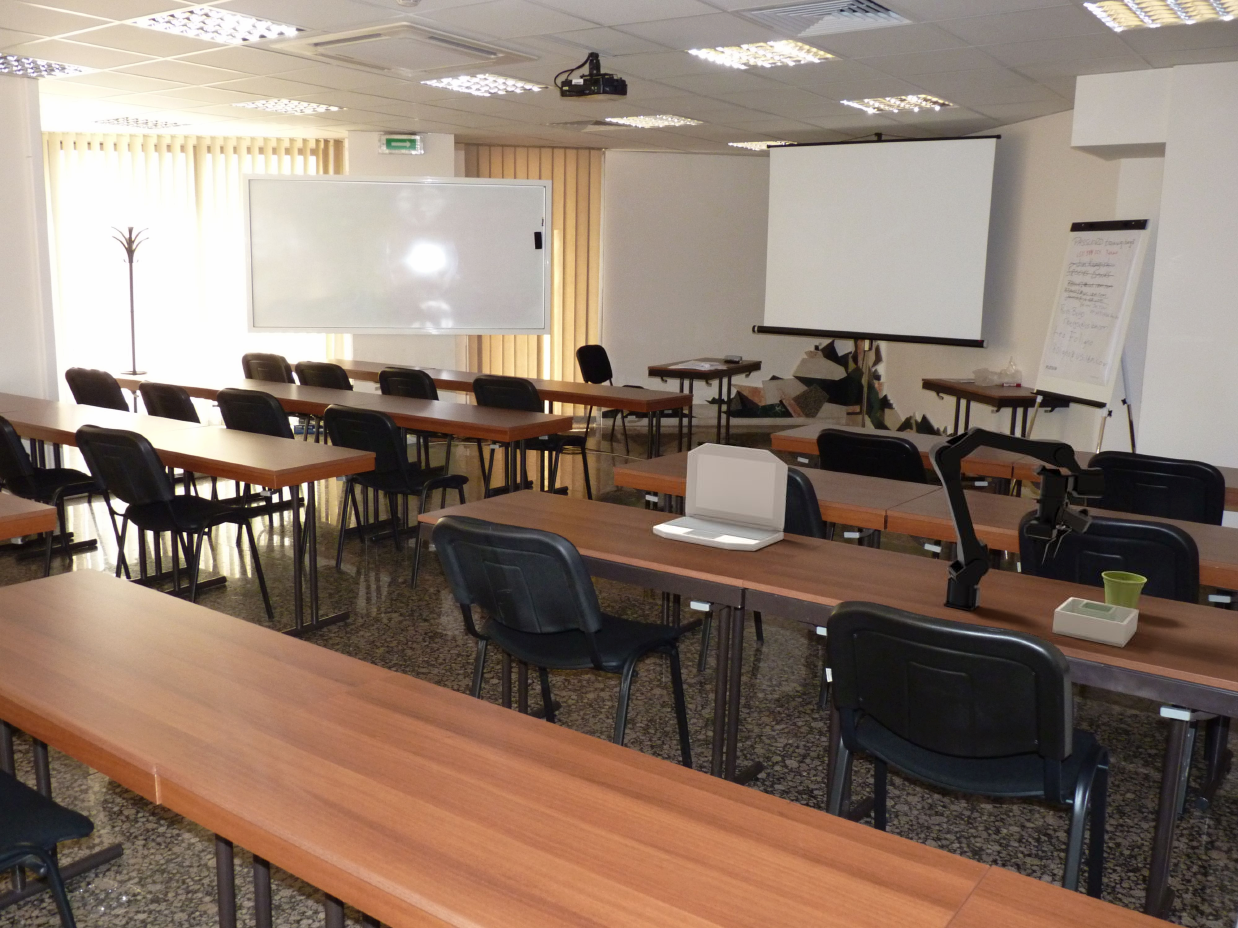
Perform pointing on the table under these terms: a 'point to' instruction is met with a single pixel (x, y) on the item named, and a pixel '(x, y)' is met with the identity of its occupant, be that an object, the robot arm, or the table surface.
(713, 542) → the laptop
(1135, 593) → the plant pot
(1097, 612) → the small crate
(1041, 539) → the robot arm
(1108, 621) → the big crate
